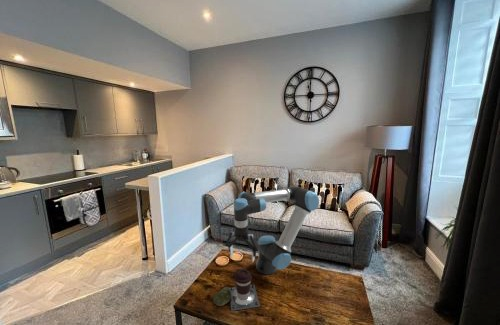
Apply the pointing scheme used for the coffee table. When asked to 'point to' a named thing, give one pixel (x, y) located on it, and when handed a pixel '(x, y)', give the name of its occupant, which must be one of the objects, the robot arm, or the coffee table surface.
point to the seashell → (222, 297)
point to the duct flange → (243, 304)
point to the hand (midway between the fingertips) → (242, 258)
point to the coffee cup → (243, 284)
